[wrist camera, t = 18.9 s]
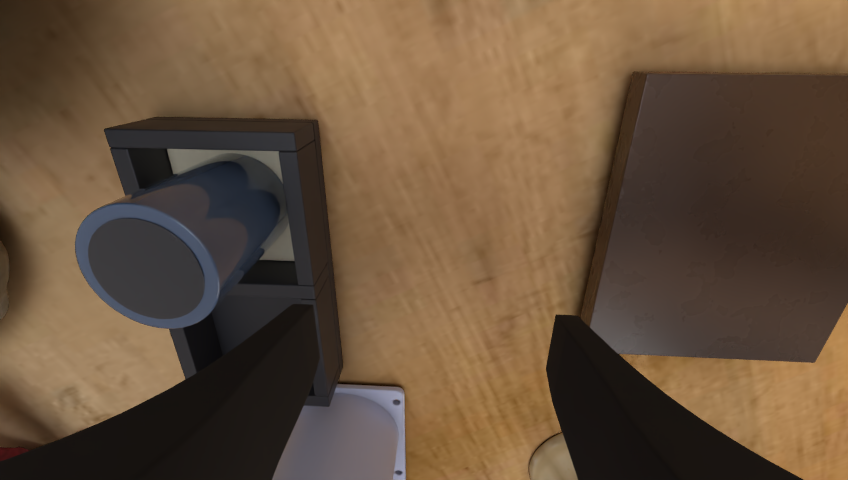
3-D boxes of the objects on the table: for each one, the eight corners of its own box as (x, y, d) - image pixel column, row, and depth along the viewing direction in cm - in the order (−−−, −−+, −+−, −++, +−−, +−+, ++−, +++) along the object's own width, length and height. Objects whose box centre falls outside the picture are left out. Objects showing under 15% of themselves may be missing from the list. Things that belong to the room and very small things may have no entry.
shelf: (786, 338, 23) (815, 363, 21) (573, 329, 24) (583, 352, 22) (917, 73, 17) (973, 76, 15) (626, 70, 18) (647, 73, 16)
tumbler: (297, 248, 21) (231, 333, 15) (205, 244, 21) (101, 327, 15) (284, 153, 19) (200, 206, 13) (181, 151, 19) (49, 201, 13)
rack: (343, 366, 26) (329, 407, 23) (221, 360, 26) (191, 400, 23) (318, 119, 19) (294, 132, 16) (155, 116, 20) (102, 128, 17)
